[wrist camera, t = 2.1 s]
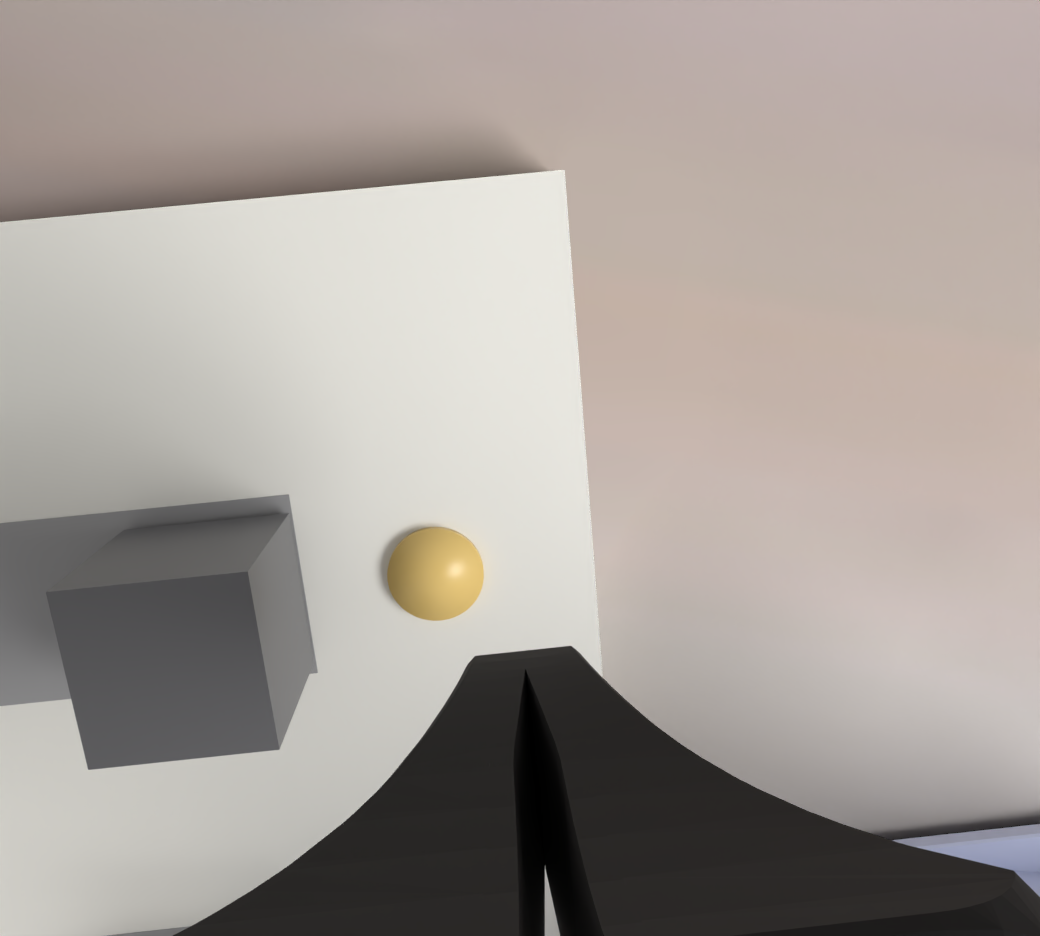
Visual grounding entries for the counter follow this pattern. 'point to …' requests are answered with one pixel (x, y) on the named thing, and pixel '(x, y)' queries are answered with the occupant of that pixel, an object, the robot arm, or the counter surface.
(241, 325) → the breaker panel
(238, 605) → the block
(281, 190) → the counter surface
